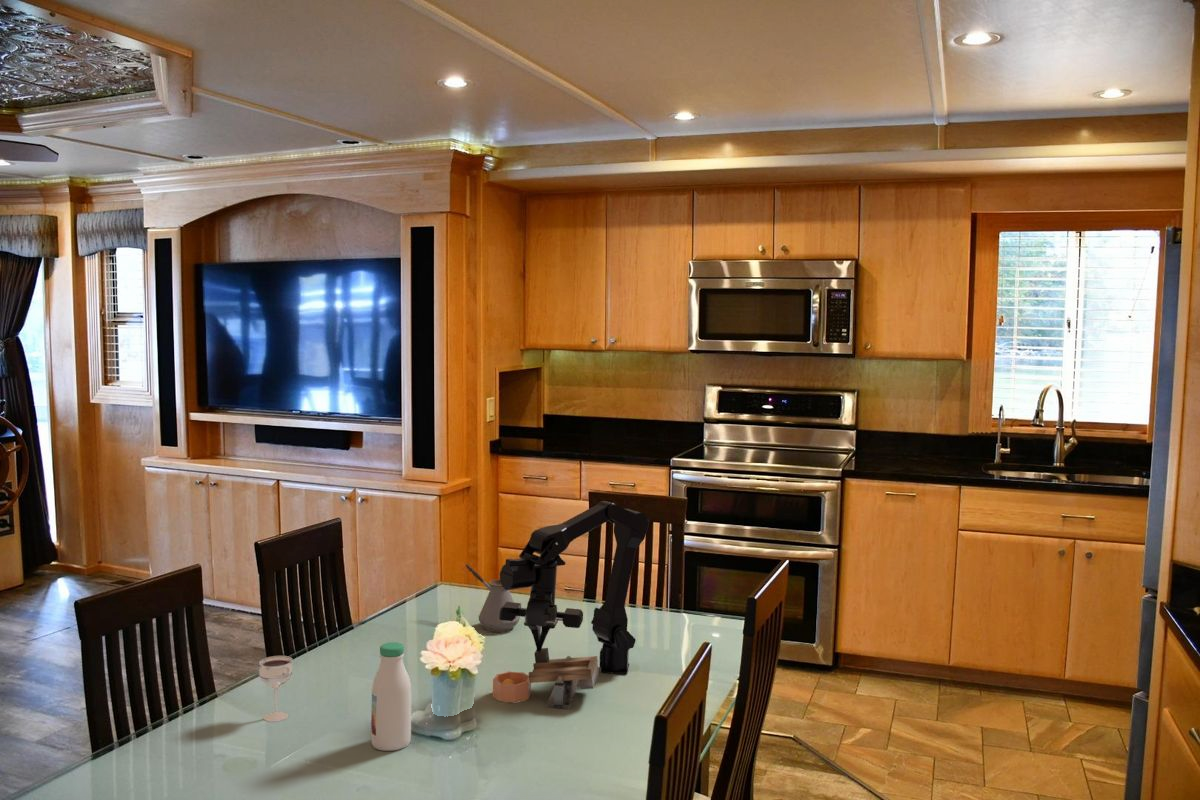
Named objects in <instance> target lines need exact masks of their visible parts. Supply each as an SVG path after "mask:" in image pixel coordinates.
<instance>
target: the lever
mask: <svg viewBox="0 0 1200 800" xmlns="http://www.w3.org/2000/svg"><path fill="white" fill-rule="evenodd" d="M534 660H535V662H534V663H532V664H533V666H532V667H533V670H532V671H529V672H528V675H529V682H530V683H531V684H535V683H549V682H557V683H561V682H562V681H567V680H579V685H578V687H579V690H591V689H594V687H595V684H596V681H597V679H598V675H599V665H598V662H599V661H598V656H596V655H594V656H581V657H580V656H579V657H572V656H569V655H567V656H566V658H553V659H550V654H549V648H548V647H542V649H541V651H537V649H536V650H535V651H534Z"/></svg>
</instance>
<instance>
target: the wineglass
mask: <svg viewBox="0 0 1200 800" xmlns="http://www.w3.org/2000/svg"><path fill="white" fill-rule="evenodd" d="M292 663H293V658H292V657H291V656H287V655H273V656H268V657H264V658H263V659H261V660H260V661H259V663H258V664H259V666H260V667H259V669H258V676H259V679H260V680H261V681H262V682H263V684H265V685H267V686H271V687H272V689H273V694H274V695H273V697H274V712H270V713H267V714H265V715H264V716H263V720H264V721H266V722H270V723H271V722H280V721H281V722H282V721H284V720H286V719H287V718H288V717H289V714H288V713H287V712H283V711H278V696H279V693H278V692H279V688H280V687H281V686H282V685H284V684H286V683H287V681H289V680H290V679H291V677H292V675H293V671H294V668H293V664H292Z"/></svg>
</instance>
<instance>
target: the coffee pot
mask: <svg viewBox="0 0 1200 800" xmlns="http://www.w3.org/2000/svg"><path fill="white" fill-rule="evenodd" d="M465 567H466V569H464V568H465ZM462 570H463V571H465V572H466V571H469V572H471V574H472V575H473V576H474V577H475V578H476V579H477V580H479V581H480V582H481V583H482V584H483V585H484V586H485V587H486V588H487V589H488V590H489V593H488V595H487V597H486V599H485V602H484V604H483V606H482V607H481V610H480V612H479V615H478V622H479V623H480V624H481V626H482V627H484V629H485V630H487V631H489V632H495V633H499V632H501V633H503V632H508V631H511V630H513V628H514V627H516V626H517V624H518V623H519V621H520V619H521V618H520V617H521V616H516V618H515V619H514V620H513V621H506V620H500V619H499V615H500V609H501V608H502V606H503V605H504V604H505V603H506V602H514V603H515V600H514V599H513V596H512V594H511V590H505V589H504V588H503V587H502V585H501V582H500V578H499V579H492V580H489V581H488V583H487V582H486V581H485V579H484V578H483V577H482V575H480V574H479V572H478V571H475V569H473V567H471V566H470V565H469V564H465V565H464V566H463V568H462Z"/></svg>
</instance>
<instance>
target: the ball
mask: <svg viewBox="0 0 1200 800" xmlns="http://www.w3.org/2000/svg"><path fill="white" fill-rule="evenodd" d="M502 684H514V685H515V683H514V681H513V680H511V679H505V680H504V681H503V682H502Z"/></svg>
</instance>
